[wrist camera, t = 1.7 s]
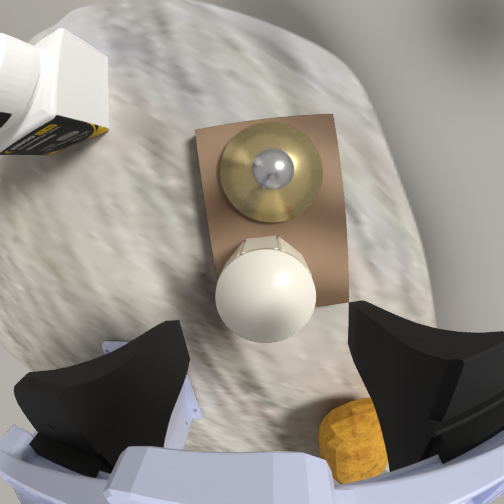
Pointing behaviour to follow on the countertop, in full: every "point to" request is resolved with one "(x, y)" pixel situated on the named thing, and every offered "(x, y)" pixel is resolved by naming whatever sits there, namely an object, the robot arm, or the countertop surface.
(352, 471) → the potato
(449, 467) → the robot arm
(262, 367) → the countertop surface
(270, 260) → the cap
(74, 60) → the medicine bottle
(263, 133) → the knob
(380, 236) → the countertop surface
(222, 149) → the board
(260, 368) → the countertop surface
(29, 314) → the countertop surface
